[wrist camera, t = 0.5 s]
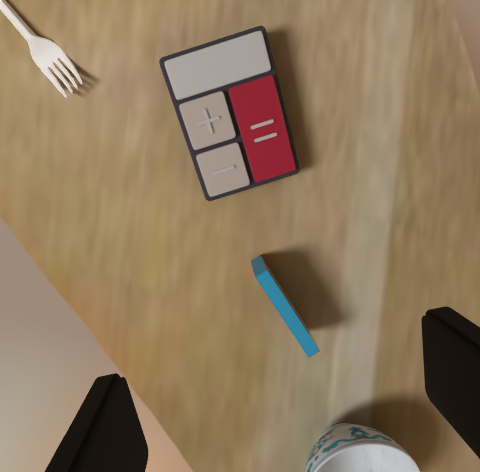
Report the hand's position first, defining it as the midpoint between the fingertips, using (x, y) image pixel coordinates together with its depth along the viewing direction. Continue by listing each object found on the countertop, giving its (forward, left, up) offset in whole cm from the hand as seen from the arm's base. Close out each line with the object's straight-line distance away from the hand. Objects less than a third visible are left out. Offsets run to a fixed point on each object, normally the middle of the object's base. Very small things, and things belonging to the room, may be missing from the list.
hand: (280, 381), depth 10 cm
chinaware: (+21, +32, -31) cm, 49 cm away
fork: (-6, -30, -31) cm, 44 cm away
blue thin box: (+6, +11, -31) cm, 33 cm away
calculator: (-9, -6, -31) cm, 33 cm away
